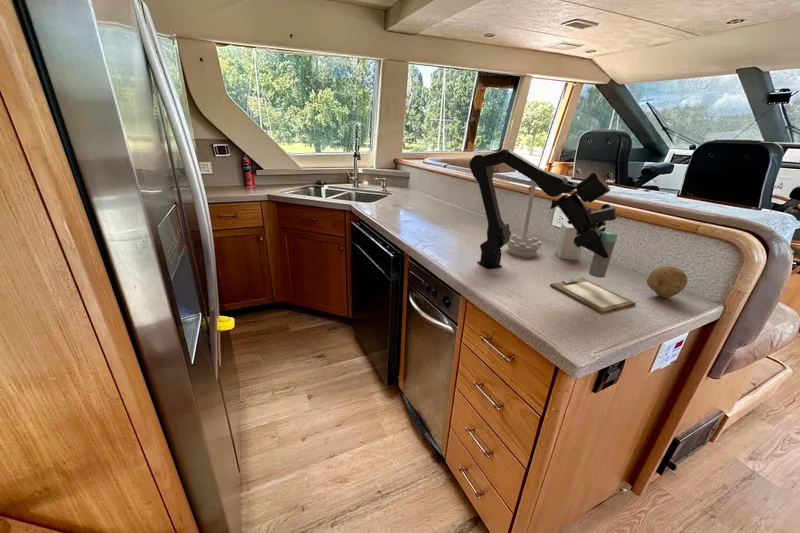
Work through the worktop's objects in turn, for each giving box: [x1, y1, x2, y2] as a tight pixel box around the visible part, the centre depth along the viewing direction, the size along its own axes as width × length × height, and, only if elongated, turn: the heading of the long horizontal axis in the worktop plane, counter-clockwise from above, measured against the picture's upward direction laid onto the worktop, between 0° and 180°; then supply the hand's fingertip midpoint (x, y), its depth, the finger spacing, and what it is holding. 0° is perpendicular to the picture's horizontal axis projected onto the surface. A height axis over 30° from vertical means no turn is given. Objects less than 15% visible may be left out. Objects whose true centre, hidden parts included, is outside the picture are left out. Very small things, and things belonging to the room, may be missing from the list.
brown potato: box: [646, 265, 688, 299], centre depth 97 cm, size 9×9×10 cm
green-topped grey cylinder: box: [588, 230, 618, 278], centre depth 96 cm, size 4×4×13 cm
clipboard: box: [549, 277, 636, 314], centre depth 99 cm, size 14×18×1 cm
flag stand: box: [505, 179, 542, 258], centre depth 128 cm, size 13×13×30 cm
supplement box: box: [554, 222, 583, 261], centre depth 128 cm, size 7×7×13 cm
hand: (608, 255), depth 96 cm, fingers closed on green-topped grey cylinder, 4 cm apart
